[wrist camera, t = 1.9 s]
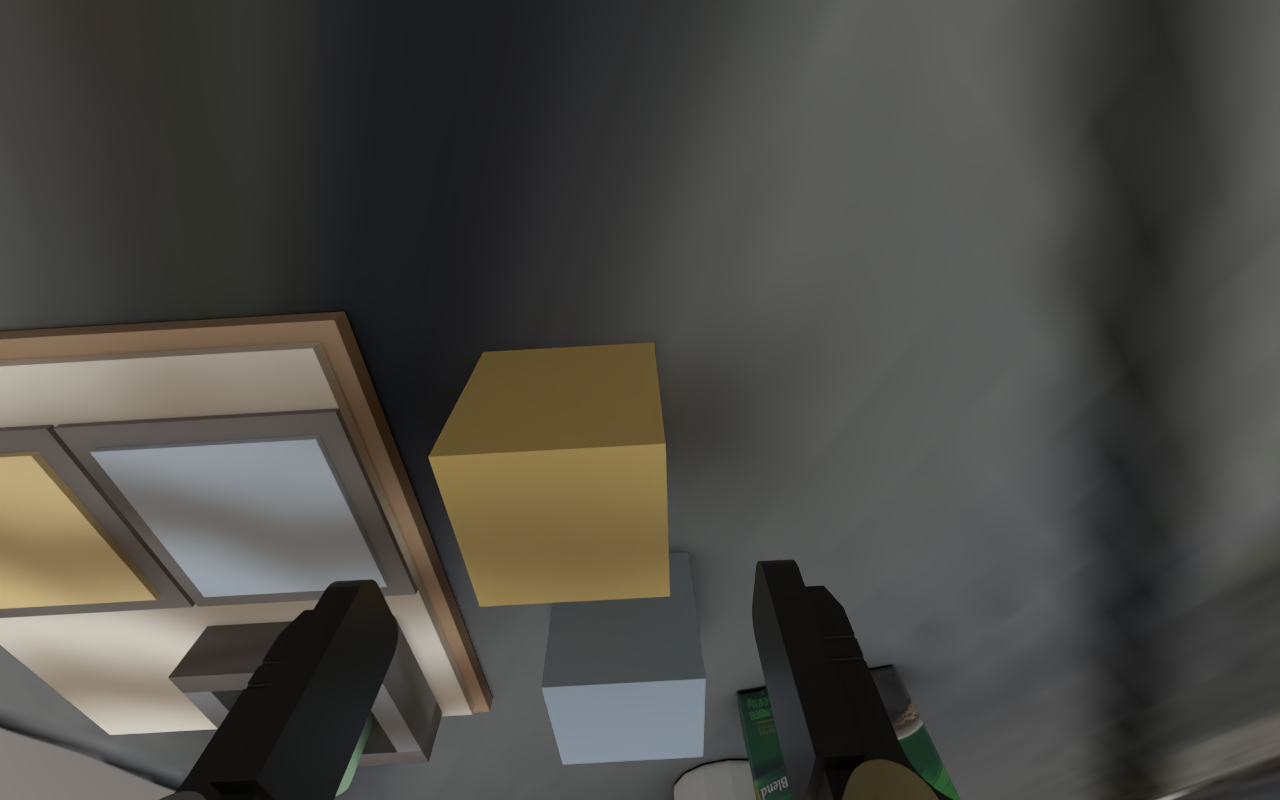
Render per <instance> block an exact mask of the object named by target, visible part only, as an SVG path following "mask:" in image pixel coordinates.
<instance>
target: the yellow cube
mask: <svg viewBox="0 0 1280 800" xmlns="http://www.w3.org/2000/svg"><path fill="white" fill-rule="evenodd" d="M428 458H429V460H430V463H431V466H432V469H433V472H434V475H435V478H436V481H437V484H438V487H439V489H440V492H441V495H442V498H443V501H444V504H445V507H446V510H447V513H448V516H449V519H450V521H451V524H452V527H453V530H454V533H455V536H456V539H457V542H458V545H459V548H460V550H461V553H462V556H463V559H464V562H465V565H466V568H467V571H468V574H469V577H470V580H471V582H472V585H473V588H474V591H475V594H476V597H477V600H478V603H479V606H480V607H485V606H503V605H522V604H540V603H558V602H577V601H595V600H613V599H632V598H650V597H668V596H670V578H669V543H668V508H667V473H666V442H665V433H664V425H663V416H662V407H661V399H660V390H659V381H658V372H657V364H656V355H655V346H654V342H649V343H632V344H614V345H597V346H580V347H562V348H545V349H528V350H510V351H493V352H483V354H482V356H481V357H480V359H479V361H478V363H477V365H476V367H475V369H474V371H473V373H472V375H471V376H470V378H469V380H468V382H467V384H466V386H465V388H464V390H463V392H462V394H461V396H460V397H459V399H458V401H457V403H456V405H455V407H454V409H453V411H452V413H451V415H450V417H449V418H448V420H447V422H446V424H445V426H444V428H443V430H442V432H441V434H440V436H439V437H438V439H437V441H436V443H435V445H434V447H433V449H432V451H431V453H430V455H429V457H428Z"/></svg>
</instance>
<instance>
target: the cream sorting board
mask: <svg viewBox="0 0 1280 800" xmlns="http://www.w3.org/2000/svg"><path fill="white" fill-rule="evenodd" d="M368 579H372V580H375V581H376V582H377V584H378V585H379V588H380V590H381V592H382V594H383V596H384V598H385V600H386V602H387V604H388V606H389V608H390V610H391V612H392V614H393V617H394V619H395V621H396V623H397V627H398V641H397V647H396V651H395V654H394V656H393V659H392V661H391V664H390V666H389V668H388V671H387V673H386V676H385V678H384V680H383V683H382V685H381V688H380V690H379V692H378V695H377V697H376V700H375V702H374V704H373V707H372V709H371V712H370V713H371V715H372V717H373V726H372V729H371V732H370V734H369V737H368V739H367V742H366V745H365V747H364V750H363V752H362V755H361V757H360V760H359V763H358V765H357V766H371V765H388V764H406V763H424V762H429V758H430V755H431V751H432V748H433V744H434V741H435V737H436V734H437V730H438V727H439V723H440V720H441V716H456V715H472V714H473V712H490V708H491V704H492V699H493V698H492V696H491V693H490V691H489V688H488V685H487V683H486V680H485V677H484V675H483V672H482V670H481V667H480V664H479V662H478V659H477V656H476V654H475V651H474V649H473V646H472V643H471V641H470V638H469V636H468V633H467V630H466V628H465V625H464V622H463V620H462V617H461V615H460V612H459V609H458V607H457V604H456V601H455V599H454V596H453V594H452V591H451V588H450V586H449V583H448V581H447V578H446V575H445V573H444V570H443V567H442V565H441V562H440V560H439V557H438V554H437V552H436V549H435V546H434V544H433V541H432V539H431V536H430V533H429V531H428V528H427V526H426V523H425V520H424V518H423V515H422V512H421V510H420V507H419V505H418V502H417V499H416V497H415V494H414V491H413V489H412V486H411V484H410V481H409V478H408V476H407V473H406V470H405V468H404V465H403V463H402V460H401V457H400V455H399V452H398V450H397V447H396V444H395V442H394V439H393V436H392V434H391V431H390V429H389V426H388V423H387V421H386V418H385V415H384V413H383V410H382V408H381V405H380V402H379V400H378V397H377V395H376V392H375V389H374V387H373V384H372V381H371V379H370V376H369V374H368V371H367V368H366V366H365V363H364V360H363V358H362V355H361V353H360V350H359V347H358V345H357V342H356V340H355V337H354V334H353V332H352V329H351V326H350V324H349V321H348V319H347V316H346V313H345V311H344V312H327V313H310V314H293V315H275V316H258V317H241V318H224V319H206V320H189V321H172V322H155V323H137V324H120V325H103V326H86V327H69V328H51V329H34V330H17V331H0V645H1V646H2V647H4V648H5V649H6V650H7V651H8V652H10V653H11V654H12V655H13V656H15V657H16V658H17V659H18V660H19V661H21V662H22V663H23V664H24V665H26V666H27V667H28V668H29V669H30V670H32V671H33V672H34V673H35V674H36V675H38V676H39V677H40V678H41V679H43V680H44V681H45V682H46V683H47V684H49V685H50V686H51V687H52V688H54V689H55V690H56V691H57V692H58V693H60V694H61V695H62V696H63V697H64V698H66V699H67V700H68V701H69V702H71V703H72V704H73V705H74V706H75V707H77V708H78V709H79V710H80V711H82V712H83V713H84V714H85V715H86V716H88V717H89V718H90V719H91V720H92V721H94V722H95V723H96V724H97V725H99V726H100V727H101V728H102V729H103V730H105V731H106V732H107V733H108V734H109V735H119V734H137V733H155V732H172V731H190V730H208V729H218V728H219V727H220V725H221V724H222V722H223V720H224V719H225V717H226V716H227V714H228V713H229V711H230V710H231V708H232V707H233V705H234V703H235V702H236V700H237V699H238V697H239V696H240V694H241V693H242V691H243V689H246V688H247V687H248V682H249V680H250V679H251V677H252V675H253V674H254V672H255V671H256V669H257V668H258V666H261V665H262V660H263V658H264V657H265V655H266V654H267V652H268V651H269V649H270V648H271V646H272V644H273V643H274V641H275V640H276V638H277V637H278V635H279V634H280V633H281V632H282V631H283V630H284V629H285V628H286V627H287V626H288V625H289V624H290V623H291V622H292V621H293V620H294V619H295V618H297V617H298V616H299V615H300V614H301V613H302V612H303V611H304V610H313V609H314V608H315V606H316V604H317V603H318V601H319V599H320V598H321V596H322V595H323V593H324V591H325V590H326V588H327V587H328V586H329V585H330V584H331V583H333V582H335V581H348V580H368Z"/></svg>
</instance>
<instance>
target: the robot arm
mask: <svg viewBox="0 0 1280 800" xmlns="http://www.w3.org/2000/svg"><path fill="white" fill-rule="evenodd" d="M752 618H753V627H754V634H755V639H756V643H757V648H758V652H759V656H760V660H761V665H762V669H763V673H764V678H765V682H766V686H767V691H768V695H769V699H770V704H771V708H772V712H773V717H774V721H775V725H776V730H777V734H778V738H779V743H780V747H781V751H782V756H783V760H784V764H785V769H786V773H787V777H788V782H789V786H790V790H791V794H792V799H793V800H953V799H951V798H949V797H948V796H946V795H944V794H943V793H941V792H940V791H938V790H937V789H935V788H934V787H933V786H932V785H931V784H929V783H928V782H927V781H926V780H925V779H924V778H923V777H922V776H921V775H920V774H919V773H918V772H917V770H916V769H915V768H914V767H913V765H912V764H911V763H910V761H909V760H908V758H907V756H906V755H905V753H904V751H903V749H902V747H901V745H900V742H899V740H898V738H897V735H896V733H895V730H894V728H893V726H892V723H891V721H890V718H889V716H888V714H887V711H886V709H885V706H884V704H883V702H882V699H881V697H880V694H879V692H878V690H877V687H876V685H875V682H874V680H873V677H872V675H871V673H870V670H869V668H868V665H867V663H866V661H864V658H863V653H862V651H861V649H860V646H859V644H858V641H857V639H855V637H854V632H853V629H852V627H851V625H850V622H849V620H848V617H847V615H846V613H845V610H844V608H843V607H842V605H841V604H840V603H839V602H838V601H837V600H836V599H835V598H834V597H833V595H832V594H831V593H830V592H829V591H828V590H827V589H826V588H825V586H809V587H805V585H804V582H803V579H802V576H801V573H800V571H799V568H798V565H797V564H796V562H795V561H794V560H775V561H758V562H757V565H756V574H755V584H754V594H753V604H752ZM397 641H398V627H397V623H396V621H395V619H394V617H393V614H392V612H391V610H390V608H389V606H388V604H387V602H386V600H385V598H384V596H383V594H382V592H381V590H380V588H379V585H378V584H377V582H376V581H375V580H372V579H368V580H348V581H335V582H333V583H331V584H330V585H329V586H328V587H327V588H326V590H325V591H324V593H323V595H322V596H321V598H320V599H319V601H318V603H317V604H316V606H315V608H314V609H313V610H304V611H303V612H302V613H301V614H300V615H299V616H298V617H297V618H295V619H294V620H293V621H292V622H291V623H290V624H289V625H288V626H287V627H286V628H285V629H284V630H283V631H282V632H281V633H280V634H279V635H278V637H277V638H276V640H275V641H274V643H273V644H272V646H271V648H270V649H269V651H268V652H267V654H266V655H265V657H264V658H263V660H262V665H261V666H258V668H257V669H256V671H255V672H254V674H253V675H252V677H251V679H250V680H249V682H248V687H247V688H246V689H243V691H242V693H241V694H240V696H239V697H238V699H237V700H236V702H235V703H234V705H233V707H232V708H231V710H230V711H229V713H228V714H227V716H226V717H225V719H224V720H223V722H222V724H221V725H220V727H219V728H218V730H217V731H216V733H215V734H214V736H213V738H212V739H211V741H210V742H209V744H208V745H207V747H206V748H205V750H204V751H203V753H202V755H201V756H200V758H199V759H198V761H197V762H196V764H195V765H194V767H193V769H192V770H191V772H190V773H189V775H188V776H187V778H186V779H185V780H184V782H183V783H182V785H181V786H180V787H179V788H178V789H177V791H176V792H175V793H174V794H171V795H169V796H166V797H164V798H162V799H160V800H334V798H335V796H336V793H337V791H338V788H339V786H340V784H341V781H342V779H343V776H344V774H345V772H346V769H347V767H348V764H349V762H350V760H351V757H352V755H353V752H354V750H355V748H356V745H357V743H358V740H359V738H360V736H361V733H362V731H363V728H364V726H365V724H366V721H367V719H368V716H369V714H370V712H371V709H372V707H373V704H374V702H375V700H376V697H377V695H378V692H379V690H380V688H381V685H382V683H383V680H384V678H385V676H386V673H387V671H388V668H389V666H390V664H391V661H392V659H393V656H394V654H395V651H396V647H397Z"/></svg>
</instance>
